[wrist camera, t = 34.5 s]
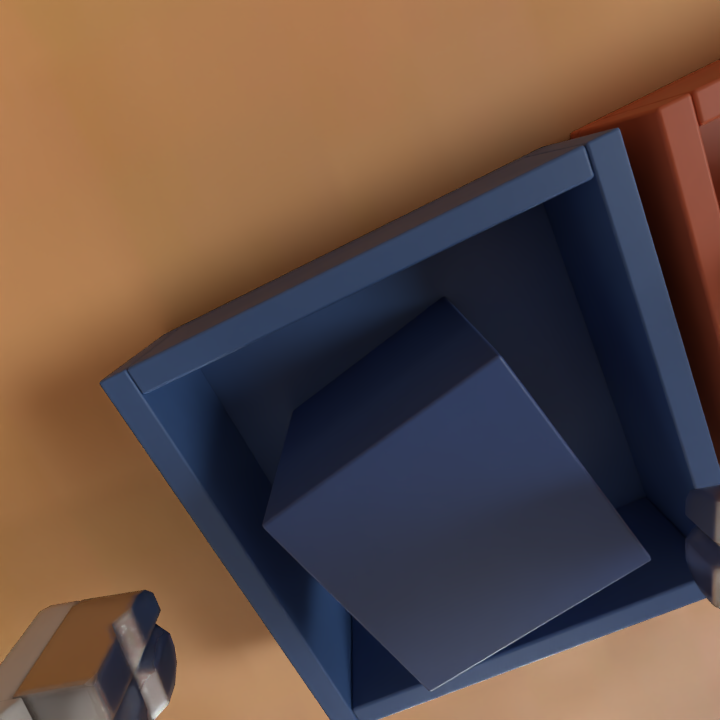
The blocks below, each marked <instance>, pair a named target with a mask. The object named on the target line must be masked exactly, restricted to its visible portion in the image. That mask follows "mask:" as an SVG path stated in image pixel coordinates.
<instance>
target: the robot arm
mask: <svg viewBox="0 0 720 720" xmlns="http://www.w3.org/2000/svg"><path fill="white" fill-rule="evenodd" d="M685 515H686V516H687V517H688V518H689V519H690V520H691V521H692V522H693V523H694V524H695V526H694V528H693V529H692V530H691V532H690V533H689V535H688V536H687V538H686V539H685V553H686V561H687V564H688V567H689V569H690V572H691V575H692V578H693V579H694V581H695V583H696V584H697V586H698V587H699V589H700V590H701V592H702V593H703V594H704V595H705V597H706V598H707V599H708V600H709V601H710V602H711V603H712V604H713V605H714V606H715V607H717V608H719V609H720V485H714V486H709V487H704V488H699V489H693V490H690V491H689V494H688V496H687V498H686V506H685ZM160 611H161V610H160V607H159V605H158V603H157V600H156V598H155V596H154V594H153V593H152V592H149V591H147V590H140V591H134V592H128V593H122V594H115V595H109V596H103V597H97V598H90V599H84V600H81V601H74V602H68V603H62V604H57V605H51V606H49V607H47V608H45V609H43V610H42V611H40V612H39V613H38V614H37V616H36V617H35V619H34V620H33V621H32V623H31V624H30V625H29V627H28V628H27V629H26V631H25V632H24V633H23V635H22V636H21V637H20V639H19V640H18V642H17V643H16V644H15V646H14V647H13V648H12V650H11V651H10V652H9V654H8V655H7V656H6V658H5V659H4V661H3V662H2V663H1V665H0V720H154V719H155V718H156V717H157V716H158V715H159V714H160V713H161V712H162V711H163V710H164V709H165V707H166V706H167V705H168V704H169V702H170V698H171V695H172V692H173V689H174V686H175V678H176V666H177V660H176V654H175V647H174V644H173V641H172V638H171V636H170V633H168V632H167V631H165V630H164V629H163V628H161V627H160V626H158V625H157V624H155V623H156V621H157V618H158V616H159V613H160Z"/></svg>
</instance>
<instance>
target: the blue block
mask: <svg viewBox="0 0 720 720" xmlns="http://www.w3.org/2000/svg"><path fill="white" fill-rule="evenodd" d="M262 526H263V528H264V529H265V530H266V531H267V532H268V533H269V534H270V535H271V536H272V537H273V538H274V539H275V540H276V541H277V542H278V543H279V544H280V545H281V546H282V547H283V548H284V549H285V550H286V551H287V552H288V553H289V554H290V555H291V556H292V557H293V558H294V559H295V560H296V561H297V562H298V563H299V564H300V565H301V566H303V567H304V568H305V569H306V570H307V571H308V572H309V573H310V574H311V575H312V576H313V577H314V578H315V579H316V580H317V581H318V582H319V583H320V584H321V585H322V586H323V587H324V588H325V589H326V590H327V591H328V592H329V593H330V594H331V595H332V596H333V597H334V598H335V599H336V600H337V601H338V602H339V603H340V604H341V605H342V606H343V607H344V608H345V609H346V610H347V611H348V612H349V613H350V614H351V615H352V616H353V617H354V618H355V619H356V620H357V621H358V622H359V623H360V624H361V625H362V626H363V627H364V628H365V629H366V630H367V631H368V632H369V633H370V634H371V635H372V636H373V637H374V638H376V639H377V640H378V641H379V642H380V643H381V644H382V645H383V646H384V647H385V648H386V649H387V650H388V651H389V652H390V653H391V654H392V655H393V656H394V657H395V658H396V659H397V660H398V661H399V662H400V663H401V664H402V665H403V666H404V667H405V668H406V669H407V670H408V671H409V672H410V673H411V674H412V675H413V676H414V677H415V678H416V679H417V680H418V681H419V682H420V683H421V684H422V685H423V686H424V687H425V688H426V689H427V690H428V691H433V690H434V689H436V688H438V687H439V686H441V685H443V684H445V683H446V682H448V681H450V680H451V679H453V678H455V677H456V676H458V675H460V674H461V673H463V672H465V671H466V670H468V669H470V668H471V667H473V666H475V665H476V664H478V663H480V662H481V661H483V660H485V659H486V658H488V657H490V656H491V655H493V654H495V653H496V652H498V651H500V650H502V649H503V648H505V647H507V646H508V645H510V644H512V643H513V642H515V641H517V640H518V639H520V638H522V637H523V636H525V635H527V634H528V633H530V632H532V631H533V630H535V629H537V628H538V627H540V626H542V625H543V624H545V623H547V622H548V621H550V620H552V619H553V618H555V617H557V616H559V615H560V614H562V613H564V612H565V611H567V610H569V609H570V608H572V607H574V606H575V605H577V604H579V603H580V602H582V601H584V600H585V599H587V598H589V597H590V596H592V595H594V594H595V593H597V592H599V591H600V590H602V589H604V588H605V587H607V586H609V585H611V584H612V583H614V582H616V581H617V580H619V579H621V578H622V577H624V576H626V575H627V574H629V573H631V572H632V571H634V570H636V569H637V568H639V567H641V566H642V565H644V564H646V563H647V562H649V561H650V560H651V558H650V555H649V554H648V552H647V551H646V550H645V548H644V547H643V546H642V544H641V543H640V542H639V540H638V539H637V538H636V536H635V535H634V534H633V532H632V531H631V530H630V528H629V527H628V525H627V524H626V523H625V521H624V520H623V519H622V517H621V516H620V515H619V513H618V512H617V511H616V509H615V508H614V507H613V505H612V504H611V503H610V501H609V500H608V499H607V497H606V496H605V494H604V493H603V492H602V490H601V489H600V488H599V486H598V485H597V484H596V482H595V481H594V480H593V478H592V477H591V476H590V474H589V473H588V472H587V470H586V469H585V468H584V466H583V465H582V463H581V462H580V461H579V459H578V458H577V457H576V455H575V454H574V453H573V451H572V450H571V449H570V447H569V446H568V445H567V443H566V442H565V441H564V439H563V438H562V437H561V435H560V434H559V432H558V431H557V430H556V428H555V427H554V426H553V424H552V423H551V422H550V420H549V419H548V418H547V416H546V415H545V414H544V412H543V411H542V410H541V408H540V407H539V406H538V404H537V403H536V401H535V400H534V399H533V397H532V396H531V395H530V393H529V392H528V391H527V389H526V388H525V387H524V385H523V384H522V383H521V381H520V380H519V379H518V377H517V376H516V375H515V373H514V372H513V370H512V369H511V368H510V366H509V365H508V364H507V362H506V361H505V360H504V358H503V357H502V356H501V355H500V354H499V353H498V351H497V350H496V349H495V348H494V347H493V346H492V345H491V344H490V343H489V342H488V341H487V340H486V339H485V338H484V337H483V336H482V335H481V334H480V333H479V332H478V331H477V329H476V328H475V327H474V326H473V325H472V324H471V323H470V322H469V321H468V320H467V319H466V318H465V317H464V316H463V315H462V314H461V313H460V312H459V311H458V310H457V308H456V307H455V306H454V305H453V304H452V303H451V302H450V301H449V300H448V299H447V298H446V297H442V298H441V299H439V300H438V301H437V302H435V303H434V304H433V305H431V306H430V307H429V308H428V309H426V310H425V311H424V312H422V313H421V314H420V315H418V316H417V317H416V318H414V319H413V320H412V321H410V322H409V323H408V324H407V325H405V326H404V327H403V328H401V329H400V330H399V331H397V332H396V333H395V334H393V335H392V336H391V337H389V338H388V339H387V340H386V341H384V342H383V343H382V344H380V345H379V346H378V347H376V348H375V349H374V350H372V351H371V352H370V353H368V354H367V355H366V356H365V357H363V358H362V359H361V360H359V361H358V362H357V363H355V364H354V365H353V366H351V367H350V368H349V369H347V370H346V371H345V372H344V373H342V374H341V375H340V376H338V377H337V378H336V379H334V380H333V381H332V382H330V383H329V384H328V385H326V386H325V387H324V388H323V389H321V390H320V391H319V392H317V393H316V394H315V395H313V396H312V397H311V398H309V399H308V400H307V401H305V402H304V403H303V404H302V405H300V406H299V407H298V408H296V409H295V410H294V411H293V412H292V416H291V420H290V424H289V427H288V431H287V435H286V438H285V442H284V446H283V450H282V453H281V457H280V461H279V464H278V468H277V472H276V476H275V479H274V483H273V487H272V490H271V494H270V498H269V502H268V505H267V509H266V513H265V516H264V520H263V524H262Z"/></svg>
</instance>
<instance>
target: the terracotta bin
mask: <svg viewBox="0 0 720 720" xmlns="http://www.w3.org/2000/svg"><path fill="white" fill-rule="evenodd" d="M613 128H619V129H620V131H621V134H622V138H623V141H624V144H625V148H626V151H627V155H628V158H629V161H630V165H631V168H632V172H633V175H634V178H635V182H636V185H637V189H638V192H639V195H640V199H641V202H642V206H643V209H644V212H645V216H646V219H647V223H648V226H649V229H650V233H651V236H652V240H653V243H654V246H655V250H656V253H657V257H658V260H659V263H660V267H661V270H662V274H663V277H664V280H665V284H666V287H667V291H668V294H669V297H670V301H671V304H672V307H673V311H674V314H675V318H676V321H677V324H678V328H679V331H680V335H681V338H682V341H683V345H684V348H685V352H686V355H687V358H688V362H689V365H690V369H691V372H692V375H693V379H694V382H695V386H696V389H697V392H698V396H699V399H700V403H701V406H702V409H703V413H704V416H705V420H706V423H707V426H708V430H709V433H710V437H711V440H712V443H713V447H714V450H715V454H716V457H717V460H718V464H719V467H720V59H719V60H717V61H715V62H713V63H711V64H709V65H707V66H705V67H703V68H701V69H698V70H696V71H694V72H692V73H690V74H688V75H686V76H684V77H682V78H680V79H678V80H676V81H674V82H672V83H670V84H668V85H666V86H664V87H662V88H660V89H658V90H656V91H654V92H652V93H650V94H648V95H646V96H644V97H642V98H640V99H638V100H636V101H634V102H632V103H630V104H628V105H626V106H624V107H622V108H620V109H618V110H616V111H614V112H612V113H610V114H608V115H606V116H604V117H602V118H600V119H598V120H596V121H594V122H592V123H590V124H588V125H586V126H584V127H581V128H579V129H577V130H575V131H573V132H572V133H571V134H570V137H571V139H575V138H579V137H582V136H586V135H590V134H594V133H598V132H602V131H605V130H609V129H613Z"/></svg>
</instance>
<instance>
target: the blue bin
mask: <svg viewBox="0 0 720 720" xmlns="http://www.w3.org/2000/svg"><path fill="white" fill-rule="evenodd" d="M442 297H446V298H447V299H448V300H449V301H450V302H451V303H452V304H453V305H454V306H455V307H456V308H457V310H458V311H459V312H460V313H461V314H462V315H463V316H464V317H465V318H466V319H467V320H468V321H469V322H470V323H471V324H472V325H473V326H474V327H475V328H476V329H477V331H478V332H479V333H480V334H481V335H482V336H483V337H484V338H485V339H486V340H487V341H488V342H489V343H490V344H491V345H492V346H493V347H494V348H495V349H496V350H497V351H498V353H499V354H500V355H501V356H502V357H503V358H504V360H505V361H506V362H507V364H508V365H509V366H510V368H511V369H512V370H513V372H514V373H515V375H516V376H517V377H518V379H519V380H520V381H521V383H522V384H523V385H524V387H525V388H526V389H527V391H528V392H529V393H530V395H531V396H532V397H533V399H534V400H535V401H536V403H537V404H538V406H539V407H540V408H541V410H542V411H543V412H544V414H545V415H546V416H547V418H548V419H549V420H550V422H551V423H552V424H553V426H554V427H555V428H556V430H557V431H558V432H559V434H560V435H561V437H562V438H563V439H564V441H565V442H566V443H567V445H568V446H569V447H570V449H571V450H572V451H573V453H574V454H575V455H576V457H577V458H578V459H579V461H580V462H581V463H582V465H583V466H584V468H585V469H586V470H587V472H588V473H589V474H590V476H591V477H592V478H593V480H594V481H595V482H596V484H597V485H598V486H599V488H600V489H601V490H602V492H603V493H604V494H605V496H606V497H607V499H608V500H609V501H610V503H611V504H612V505H613V507H614V508H615V509H616V511H617V512H618V513H619V515H620V516H621V517H622V519H623V520H624V521H625V523H626V524H627V525H628V527H629V528H630V530H631V531H632V532H633V534H634V535H635V536H636V538H637V539H638V540H639V542H640V543H641V544H642V546H643V547H644V548H645V550H646V551H647V552H648V554H649V555H650V558H651V560H650V561H649V562H647V563H646V564H644V565H642V566H641V567H639V568H637V569H636V570H634V571H632V572H631V573H629V574H627V575H626V576H624V577H622V578H621V579H619V580H617V581H616V582H614V583H612V584H611V585H609V586H607V587H605V588H604V589H602V590H600V591H599V592H597V593H595V594H594V595H592V596H590V597H589V598H587V599H585V600H584V601H582V602H580V603H579V604H577V605H575V606H574V607H572V608H570V609H569V610H567V611H565V612H564V613H562V614H560V615H559V616H557V617H555V618H553V619H552V620H550V621H548V622H547V623H545V624H543V625H542V626H540V627H538V628H537V629H535V630H533V631H532V632H530V633H528V634H527V635H525V636H523V637H522V638H520V639H518V640H517V641H515V642H513V643H512V644H510V645H508V646H507V647H505V648H503V649H502V650H500V651H498V652H496V653H495V654H493V655H491V656H490V657H488V658H486V659H485V660H483V661H481V662H480V663H478V664H476V665H475V666H473V667H471V668H470V669H468V670H466V671H465V672H463V673H461V674H460V675H458V676H456V677H455V678H453V679H451V680H450V681H448V682H446V683H445V684H443V685H441V686H439V687H438V688H436V689H434V690H433V691H428V690H427V689H426V688H425V687H424V686H423V685H422V684H421V683H420V682H419V681H418V680H417V679H416V678H415V677H414V676H413V675H412V674H411V673H410V672H409V671H408V670H407V669H406V668H405V667H404V666H403V665H402V664H401V663H400V662H399V661H398V660H397V659H396V658H395V657H394V656H393V655H392V654H391V653H390V652H389V651H388V650H387V649H386V648H385V647H384V646H383V645H382V644H381V643H380V642H379V641H378V640H377V639H376V638H374V637H373V636H372V635H371V634H370V633H369V632H368V631H367V630H366V629H365V628H364V627H363V626H362V625H361V624H360V623H359V622H358V621H357V620H356V619H355V618H354V617H353V616H352V615H351V614H350V613H349V612H348V611H347V610H346V609H345V608H344V607H343V606H342V605H341V604H340V603H339V602H338V601H337V600H336V599H335V598H334V597H333V596H332V595H331V594H330V593H329V592H328V591H327V590H326V589H325V588H324V587H323V586H322V585H321V584H320V583H319V582H318V581H317V580H316V579H315V578H314V577H313V576H312V575H311V574H310V573H309V572H308V571H307V570H306V569H305V568H304V567H303V566H301V565H300V564H299V563H298V562H297V561H296V560H295V559H294V558H293V557H292V556H291V555H290V554H289V553H288V552H287V551H286V550H285V549H284V548H283V547H282V546H281V545H280V544H279V543H278V542H277V541H276V540H275V539H274V538H273V537H272V536H271V535H270V534H269V533H268V532H267V531H266V530H265V529H264V528H263V526H262V524H263V520H264V516H265V513H266V509H267V505H268V502H269V498H270V494H271V490H272V487H273V483H274V479H275V476H276V472H277V468H278V464H279V461H280V457H281V453H282V450H283V446H284V442H285V438H286V435H287V431H288V427H289V424H290V420H291V416H292V412H293V411H294V410H295V409H296V408H298V407H299V406H300V405H302V404H303V403H304V402H305V401H307V400H308V399H309V398H311V397H312V396H313V395H315V394H316V393H317V392H319V391H320V390H321V389H323V388H324V387H325V386H326V385H328V384H329V383H330V382H332V381H333V380H334V379H336V378H337V377H338V376H340V375H341V374H342V373H344V372H345V371H346V370H347V369H349V368H350V367H351V366H353V365H354V364H355V363H357V362H358V361H359V360H361V359H362V358H363V357H365V356H366V355H367V354H368V353H370V352H371V351H372V350H374V349H375V348H376V347H378V346H379V345H380V344H382V343H383V342H384V341H386V340H387V339H388V338H389V337H391V336H392V335H393V334H395V333H396V332H397V331H399V330H400V329H401V328H403V327H404V326H405V325H407V324H408V323H409V322H410V321H412V320H413V319H414V318H416V317H417V316H418V315H420V314H421V313H422V312H424V311H425V310H426V309H428V308H429V307H430V306H431V305H433V304H434V303H435V302H437V301H438V300H439V299H441V298H442ZM100 385H101V387H102V388H103V390H104V391H105V393H106V394H107V395H108V397H109V398H110V400H111V401H112V403H113V404H114V406H115V407H116V409H117V410H118V411H119V413H120V414H121V416H122V417H123V419H124V420H125V422H126V423H127V425H128V426H129V428H130V429H131V430H132V432H133V433H134V435H135V436H136V438H137V439H138V441H139V442H140V444H141V445H142V446H143V448H144V449H145V451H146V452H147V454H148V455H149V457H150V458H151V460H152V461H153V462H154V464H155V465H156V467H157V468H158V470H159V471H160V473H161V474H162V476H163V477H164V478H165V480H166V481H167V483H168V484H169V486H170V487H171V489H172V490H173V492H174V493H175V494H176V496H177V497H178V499H179V500H180V502H181V503H182V505H183V506H184V508H185V509H186V511H187V512H188V513H189V515H190V516H191V518H192V519H193V521H194V522H195V524H196V525H197V527H198V528H199V529H200V531H201V532H202V534H203V535H204V537H205V538H206V540H207V541H208V543H209V544H210V545H211V547H212V548H213V550H214V551H215V553H216V554H217V556H218V557H219V559H220V560H221V561H222V563H223V564H224V566H225V567H226V569H227V570H228V572H229V573H230V575H231V576H232V577H233V579H234V580H235V582H236V583H237V585H238V586H239V588H240V589H241V591H242V592H243V594H244V595H245V596H246V598H247V599H248V601H249V602H250V604H251V605H252V607H253V608H254V610H255V611H256V612H257V614H258V615H259V617H260V618H261V620H262V621H263V623H264V624H265V626H266V627H267V628H268V630H269V631H270V633H271V634H272V636H273V637H274V639H275V640H276V642H277V643H278V644H279V646H280V647H281V649H282V650H283V652H284V653H285V655H286V656H287V658H288V659H289V660H290V662H291V663H292V665H293V666H294V668H295V669H296V671H297V672H298V674H299V675H300V677H301V678H302V679H303V681H304V682H305V684H306V685H307V687H308V688H309V690H310V691H311V693H312V694H313V695H314V697H315V698H316V700H317V701H318V703H319V704H320V706H321V707H322V709H323V710H324V711H325V713H326V714H327V716H328V717H329V719H330V720H379V719H381V718H384V717H387V716H389V715H392V714H395V713H397V712H400V711H403V710H405V709H408V708H411V707H414V706H416V705H419V704H422V703H424V702H427V701H430V700H432V699H435V698H438V697H441V696H443V695H446V694H449V693H451V692H454V691H457V690H459V689H462V688H465V687H467V686H470V685H473V684H476V683H478V682H481V681H484V680H486V679H489V678H492V677H494V676H497V675H500V674H503V673H505V672H508V671H511V670H513V669H516V668H519V667H521V666H524V665H527V664H530V663H532V662H535V661H538V660H540V659H543V658H546V657H548V656H551V655H554V654H556V653H559V652H562V651H565V650H567V649H570V648H573V647H575V646H578V645H581V644H583V643H586V642H589V641H592V640H594V639H597V638H600V637H602V636H605V635H608V634H610V633H613V632H616V631H618V630H621V629H624V628H627V627H629V626H632V625H635V624H637V623H640V622H643V621H645V620H648V619H651V618H654V617H656V616H659V615H662V614H664V613H667V612H670V611H672V610H675V609H678V608H681V607H683V606H686V605H689V604H691V603H694V602H697V601H699V600H702V599H705V598H706V597H705V595H704V594H703V593H702V592H701V590H700V589H699V587H698V586H697V584H696V583H695V581H694V579H693V578H692V575H691V572H690V569H689V567H688V564H687V561H686V553H685V539H686V538H687V536H688V535H689V533H690V532H691V530H692V529H693V528H694V526H695V524H694V523H693V522H692V521H691V520H690V519H689V518H688V517H687V516H686V515H685V506H686V498H687V496H688V494H689V491H690V490H693V489H699V488H704V487H709V486H714V485H720V467H719V464H718V460H717V457H716V454H715V450H714V447H713V443H712V440H711V437H710V433H709V430H708V426H707V423H706V420H705V416H704V413H703V409H702V406H701V403H700V399H699V396H698V392H697V389H696V386H695V382H694V379H693V375H692V372H691V369H690V365H689V362H688V358H687V355H686V352H685V348H684V345H683V341H682V338H681V335H680V331H679V328H678V324H677V321H676V318H675V314H674V311H673V307H672V304H671V301H670V297H669V294H668V291H667V287H666V284H665V280H664V277H663V274H662V270H661V267H660V263H659V260H658V257H657V253H656V250H655V246H654V243H653V240H652V236H651V233H650V229H649V226H648V223H647V219H646V216H645V212H644V209H643V206H642V202H641V199H640V195H639V192H638V189H637V185H636V182H635V178H634V175H633V172H632V168H631V165H630V161H629V158H628V155H627V151H626V148H625V144H624V141H623V138H622V134H621V131H620V129H619V128H613V129H609V130H605V131H602V132H598V133H594V134H590V135H586V136H582V137H579V138H575V139H571V140H567V141H563V142H559V143H556V144H552V145H549V146H544V147H541V148H539V149H537V150H535V151H533V152H531V153H529V154H527V155H525V156H523V157H521V158H519V159H517V160H515V161H513V162H511V163H509V164H507V165H505V166H503V167H501V168H499V169H497V170H495V171H493V172H491V173H489V174H487V175H485V176H483V177H481V178H479V179H477V180H475V181H473V182H471V183H469V184H466V185H464V186H462V187H460V188H458V189H456V190H454V191H452V192H450V193H448V194H446V195H444V196H442V197H440V198H438V199H436V200H434V201H432V202H430V203H428V204H426V205H424V206H422V207H420V208H418V209H416V210H414V211H412V212H410V213H408V214H406V215H404V216H402V217H400V218H398V219H396V220H394V221H392V222H390V223H388V224H386V225H384V226H382V227H380V228H378V229H376V230H374V231H372V232H370V233H368V234H366V235H364V236H362V237H360V238H358V239H356V240H354V241H352V242H349V243H347V244H345V245H343V246H341V247H339V248H337V249H335V250H333V251H331V252H329V253H327V254H325V255H323V256H321V257H319V258H317V259H315V260H313V261H311V262H309V263H307V264H305V265H303V266H301V267H299V268H297V269H295V270H293V271H291V272H289V273H287V274H285V275H283V276H281V277H279V278H277V279H275V280H273V281H271V282H269V283H267V284H265V285H263V286H261V287H259V288H257V289H255V290H253V291H251V292H249V293H247V294H245V295H243V296H241V297H239V298H237V299H235V300H232V301H230V302H228V303H226V304H224V305H222V306H220V307H218V308H216V309H214V310H212V311H210V312H208V313H206V314H204V315H202V316H200V317H198V318H196V319H194V320H192V321H190V322H188V323H186V324H184V325H182V326H180V327H178V328H176V329H174V330H172V331H170V332H168V333H166V334H164V335H163V336H161V337H160V338H159V339H157V340H156V341H154V342H153V343H152V344H150V345H149V346H148V347H146V348H145V349H144V350H142V351H141V352H139V353H138V354H137V355H135V356H134V357H133V358H131V359H130V360H129V361H127V362H126V363H125V364H123V365H122V366H120V367H119V368H118V369H116V370H115V371H114V372H112V373H111V374H110V375H108V376H107V377H105V378H104V379H103V380H101V381H100Z"/></svg>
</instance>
